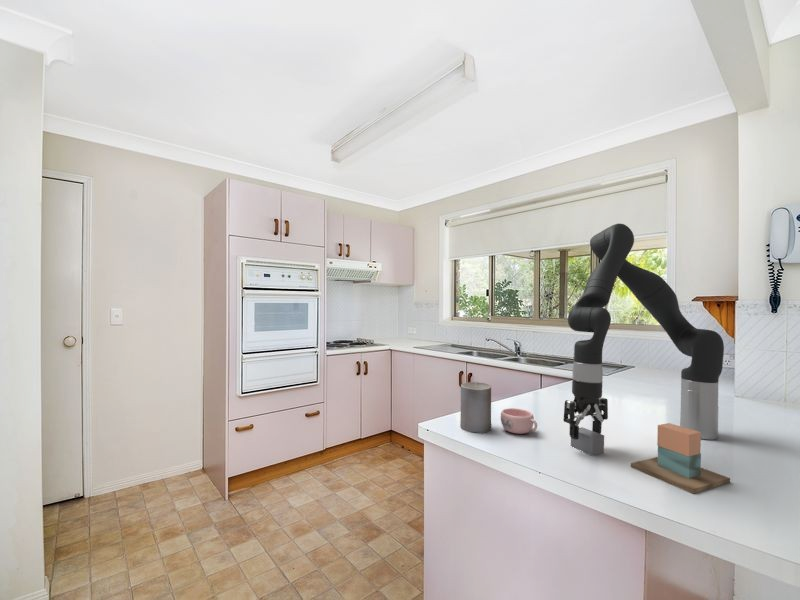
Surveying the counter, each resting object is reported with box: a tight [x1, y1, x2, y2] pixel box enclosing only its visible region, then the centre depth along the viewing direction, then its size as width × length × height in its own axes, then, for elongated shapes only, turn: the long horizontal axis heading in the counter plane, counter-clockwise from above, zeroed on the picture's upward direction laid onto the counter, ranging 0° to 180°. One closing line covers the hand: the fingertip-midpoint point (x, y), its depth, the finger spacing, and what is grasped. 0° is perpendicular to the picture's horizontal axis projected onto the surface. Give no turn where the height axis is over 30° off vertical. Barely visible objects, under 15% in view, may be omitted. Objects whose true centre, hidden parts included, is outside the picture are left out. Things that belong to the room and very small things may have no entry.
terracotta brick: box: [656, 422, 702, 456], centre depth 91 cm, size 4×7×5 cm, turn 24°
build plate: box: [630, 445, 731, 495], centre depth 91 cm, size 14×14×6 cm
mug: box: [500, 407, 538, 435], centre depth 118 cm, size 12×10×6 cm
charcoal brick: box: [570, 427, 605, 457], centre depth 105 cm, size 4×7×5 cm, turn 24°
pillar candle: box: [459, 381, 492, 434], centre depth 121 cm, size 10×10×15 cm
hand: (585, 436), depth 105 cm, fingers open, 8 cm apart
